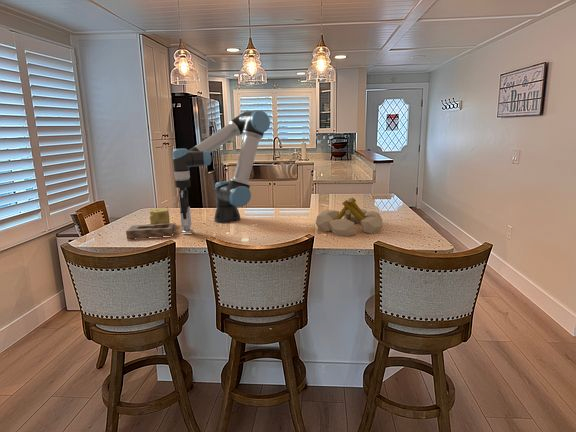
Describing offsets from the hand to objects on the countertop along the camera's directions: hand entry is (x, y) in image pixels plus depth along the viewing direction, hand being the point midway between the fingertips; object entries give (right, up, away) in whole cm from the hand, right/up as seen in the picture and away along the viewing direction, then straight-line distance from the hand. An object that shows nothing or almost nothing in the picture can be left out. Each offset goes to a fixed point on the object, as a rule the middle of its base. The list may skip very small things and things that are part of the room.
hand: (186, 223), depth 211 cm
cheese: (-19, -2, +17) cm, 25 cm away
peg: (0, -5, +1) cm, 5 cm away
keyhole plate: (-18, -6, -1) cm, 19 cm away
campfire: (+85, -3, +2) cm, 85 cm away
